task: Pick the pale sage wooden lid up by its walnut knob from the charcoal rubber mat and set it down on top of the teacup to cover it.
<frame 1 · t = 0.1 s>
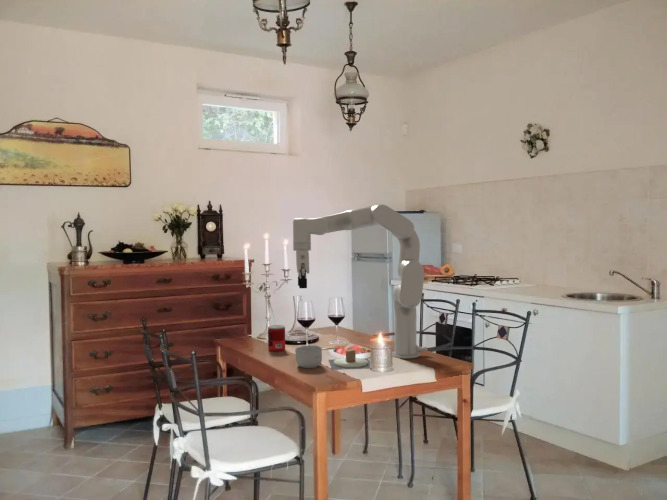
hand: (302, 286, 253), 31 cm above the table, tool pointing down, fingers open, 9 cm apart
canned food: (276, 350, 273), on the table
lid: (350, 363, 244), on the table, touching mat
mat: (350, 364, 244), on the table
teacup: (309, 366, 242), on the table
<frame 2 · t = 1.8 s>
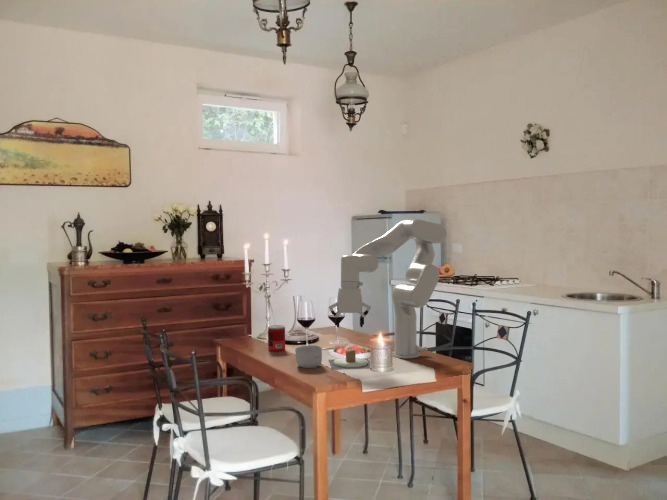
hand: (349, 326, 243), 16 cm above the table, tool pointing down, fingers open, 9 cm apart
nothing on the table moved.
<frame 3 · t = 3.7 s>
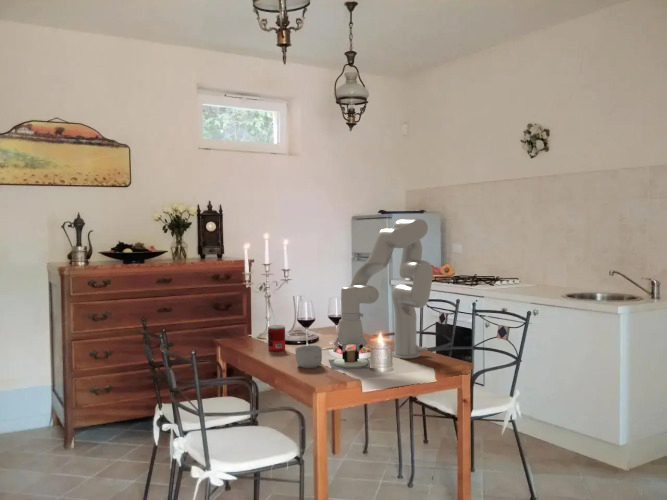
hand: (350, 360, 244), 2 cm above the table, tool pointing down, fingers closed on lid, 4 cm apart
lid: (350, 363, 244), on the table, touching gripper, mat
everything else where it was.
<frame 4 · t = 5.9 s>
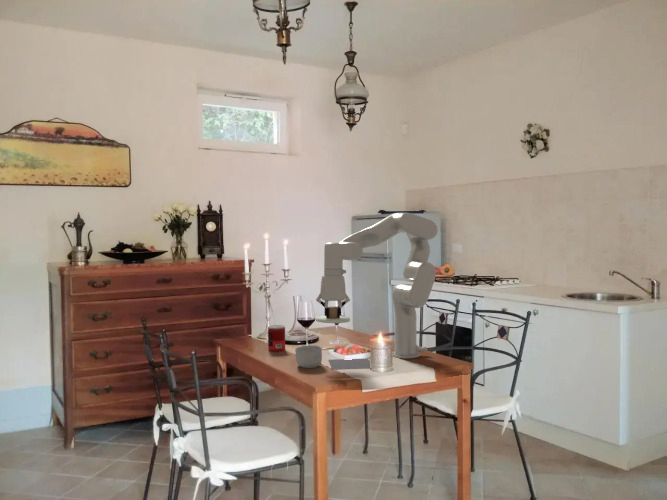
hand: (332, 317, 242), 20 cm above the table, tool pointing down, fingers closed on lid, 4 cm apart
lid: (332, 320, 242), point 19 cm above the table, touching gripper
everything else where it was.
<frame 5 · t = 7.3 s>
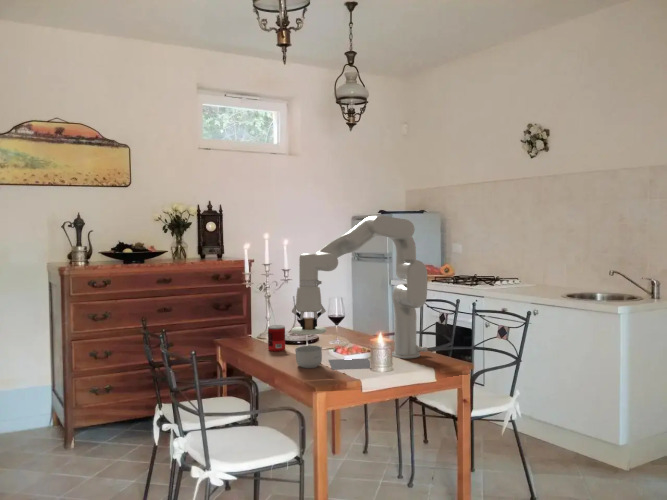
hand: (308, 328, 241), 16 cm above the table, tool pointing down, fingers closed on lid, 4 cm apart
lid: (308, 331, 241), point 14 cm above the table, touching gripper
everything else where it was.
when the fingers open (11 cm above the table, at t = 8.3 s): lid drops 2 cm, resting on teacup.
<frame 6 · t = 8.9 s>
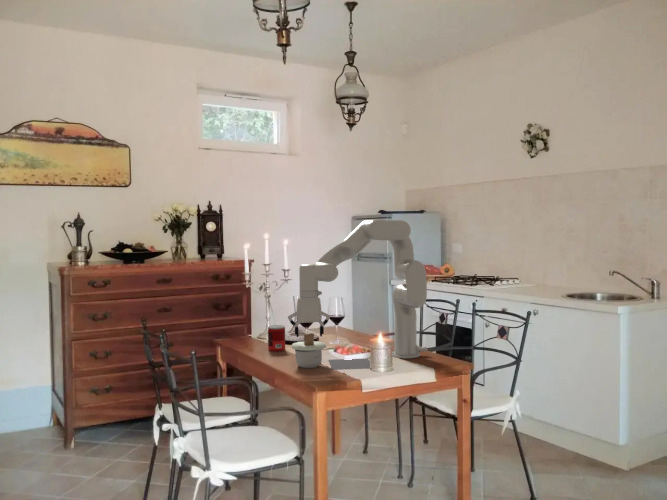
hand: (309, 336, 241), 12 cm above the table, tool pointing down, fingers open, 9 cm apart
lid: (309, 347, 241), point 8 cm above the table, touching teacup
teacup: (309, 366, 242), on the table, touching lid
everything else where it was.
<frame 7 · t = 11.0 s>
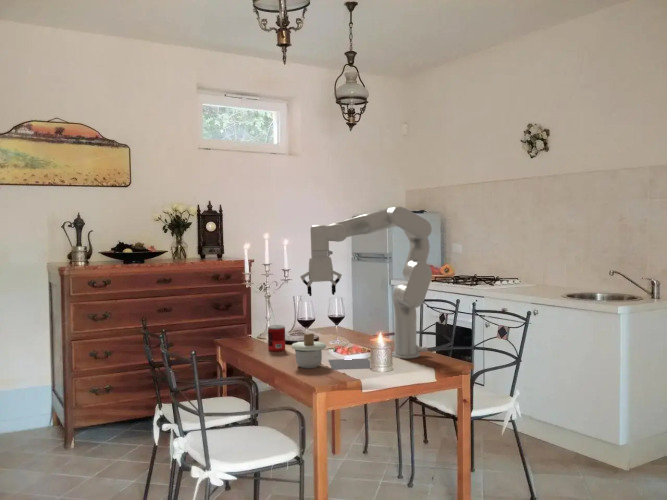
hand: (321, 295, 248), 28 cm above the table, tool pointing down, fingers open, 9 cm apart
nothing on the table moved.
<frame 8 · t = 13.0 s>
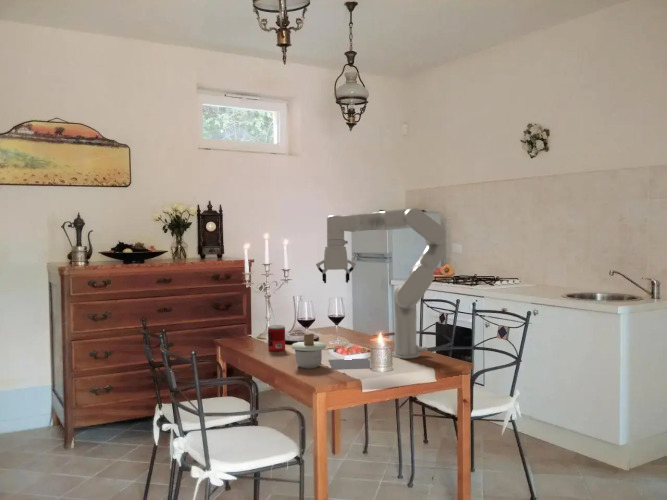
hand: (336, 282, 259), 32 cm above the table, tool pointing down, fingers open, 9 cm apart
nothing on the table moved.
at the end: lid 0.4 cm from the teacup (horizontally); lid point 7.9 cm above the table; teacup tilted 0° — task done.
